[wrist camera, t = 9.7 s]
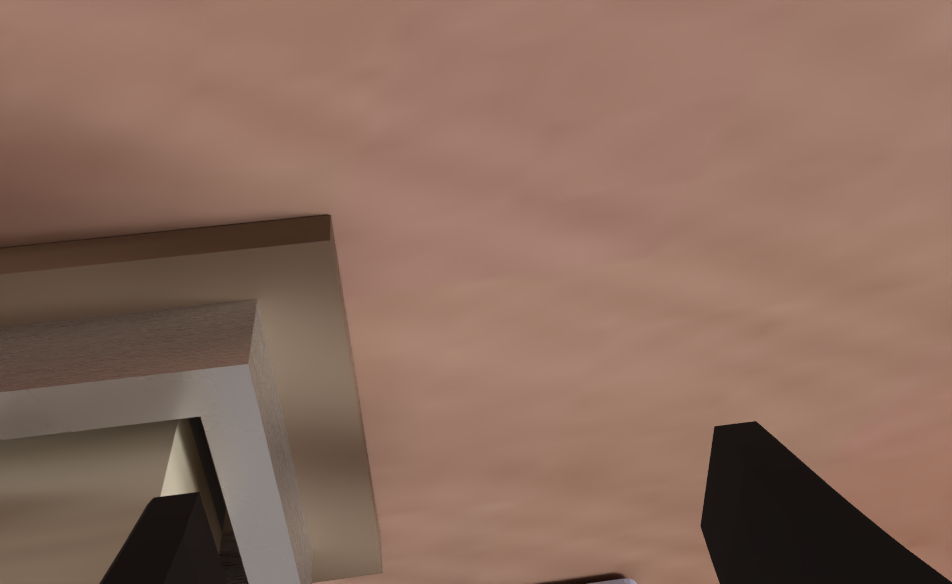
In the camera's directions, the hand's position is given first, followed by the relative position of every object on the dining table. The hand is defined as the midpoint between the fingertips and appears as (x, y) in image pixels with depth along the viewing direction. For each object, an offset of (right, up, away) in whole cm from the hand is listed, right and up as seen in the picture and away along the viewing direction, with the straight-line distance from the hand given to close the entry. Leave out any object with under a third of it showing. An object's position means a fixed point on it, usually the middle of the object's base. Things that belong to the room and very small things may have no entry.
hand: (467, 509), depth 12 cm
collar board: (-9, 0, +10) cm, 14 cm away
